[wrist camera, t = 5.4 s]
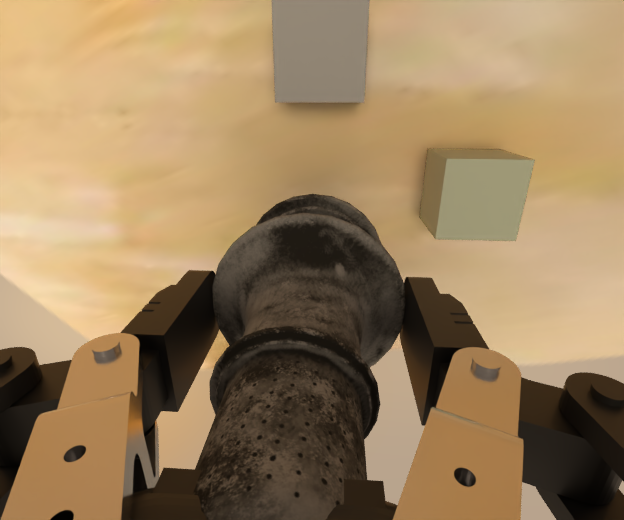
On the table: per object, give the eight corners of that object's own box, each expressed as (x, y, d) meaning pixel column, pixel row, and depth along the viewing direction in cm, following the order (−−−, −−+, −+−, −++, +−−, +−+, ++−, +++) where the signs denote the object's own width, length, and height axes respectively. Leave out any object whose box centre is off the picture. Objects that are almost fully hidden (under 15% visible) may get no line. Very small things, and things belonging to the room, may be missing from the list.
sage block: (499, 149, 26) (534, 160, 22) (486, 217, 28) (515, 241, 24) (427, 148, 27) (446, 158, 22) (419, 216, 29) (435, 239, 24)
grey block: (362, 15, 24) (369, -5, 19) (358, 101, 26) (364, 102, 21) (283, 16, 24) (271, -4, 19) (285, 101, 26) (275, 102, 21)
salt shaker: (292, 346, 16) (198, 859, 5) (209, 236, 15) (-193, 668, 4) (417, 285, 15) (647, 831, 4) (341, 154, 13) (361, 465, 2)
